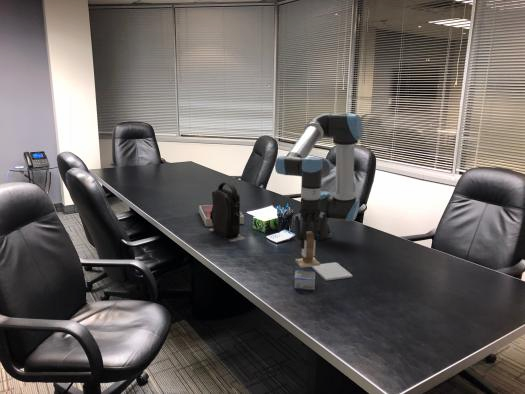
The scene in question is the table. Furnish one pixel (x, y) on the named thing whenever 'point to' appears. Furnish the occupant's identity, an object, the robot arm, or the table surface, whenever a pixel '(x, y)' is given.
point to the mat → (331, 271)
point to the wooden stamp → (308, 252)
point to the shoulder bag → (226, 213)
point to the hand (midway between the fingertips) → (308, 255)
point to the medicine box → (304, 280)
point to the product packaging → (205, 215)
